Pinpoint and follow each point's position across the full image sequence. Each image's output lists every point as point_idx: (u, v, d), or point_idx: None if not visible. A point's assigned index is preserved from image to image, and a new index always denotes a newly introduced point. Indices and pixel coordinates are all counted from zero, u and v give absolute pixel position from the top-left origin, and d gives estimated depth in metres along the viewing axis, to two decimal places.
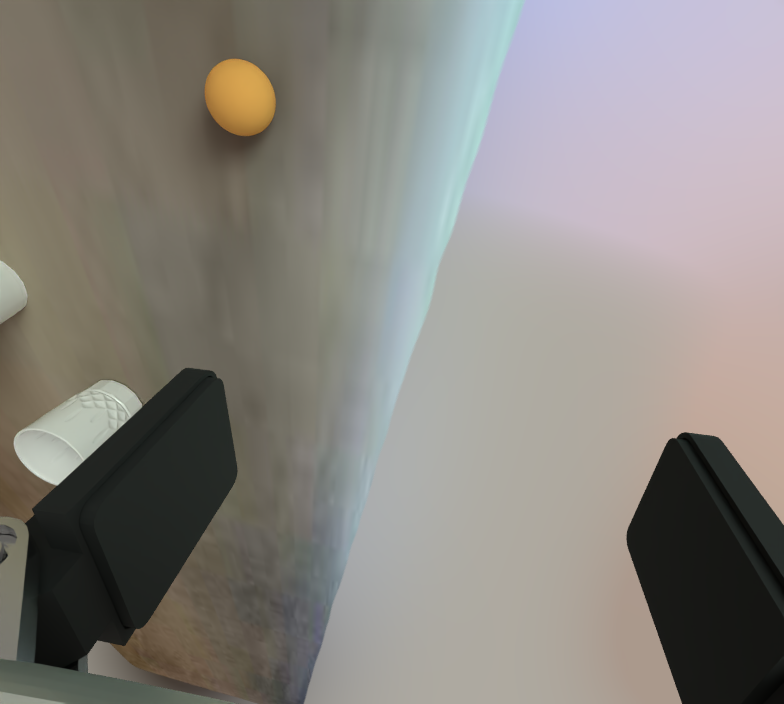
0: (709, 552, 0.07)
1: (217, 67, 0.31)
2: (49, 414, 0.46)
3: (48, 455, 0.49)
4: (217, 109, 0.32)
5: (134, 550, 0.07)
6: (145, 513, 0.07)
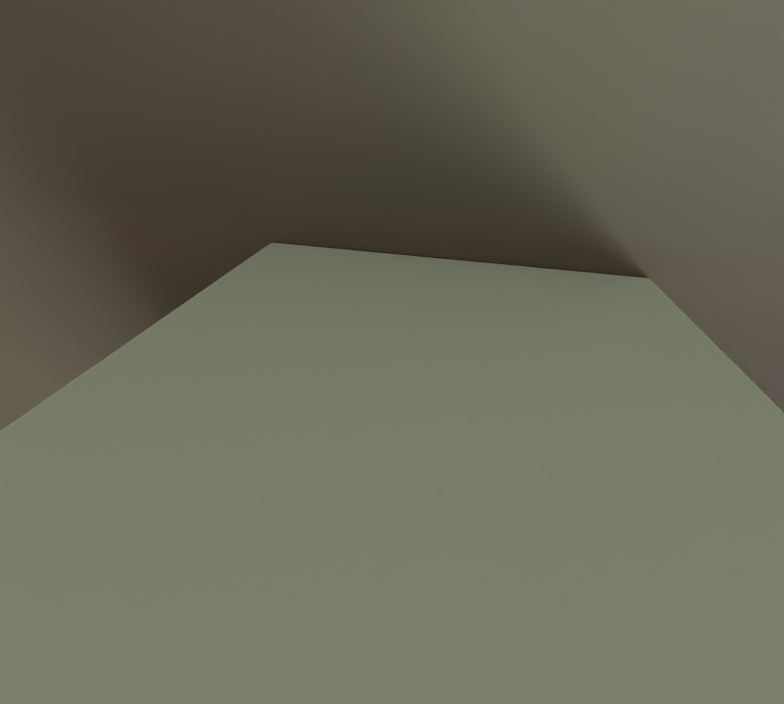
0: None
1: None
2: None
3: None
4: None
5: None
6: None
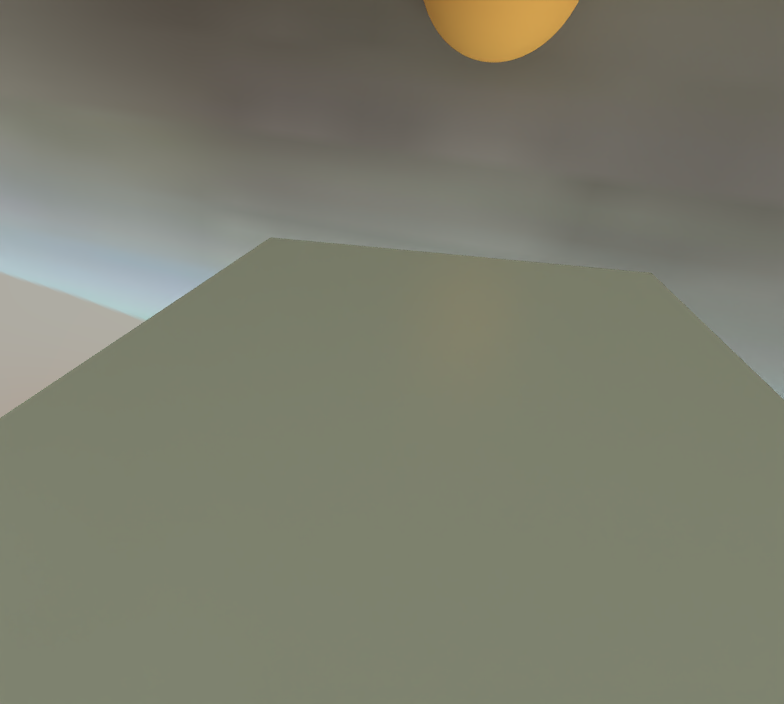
0: None
1: None
2: None
3: None
4: None
5: None
6: None
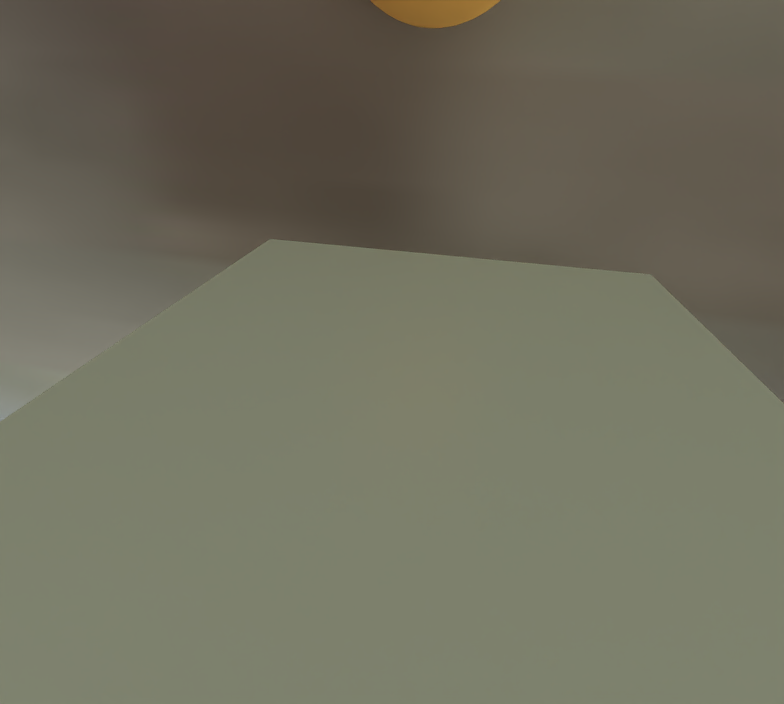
0: None
1: None
2: None
3: None
4: (407, 22, 0.11)
5: None
6: None
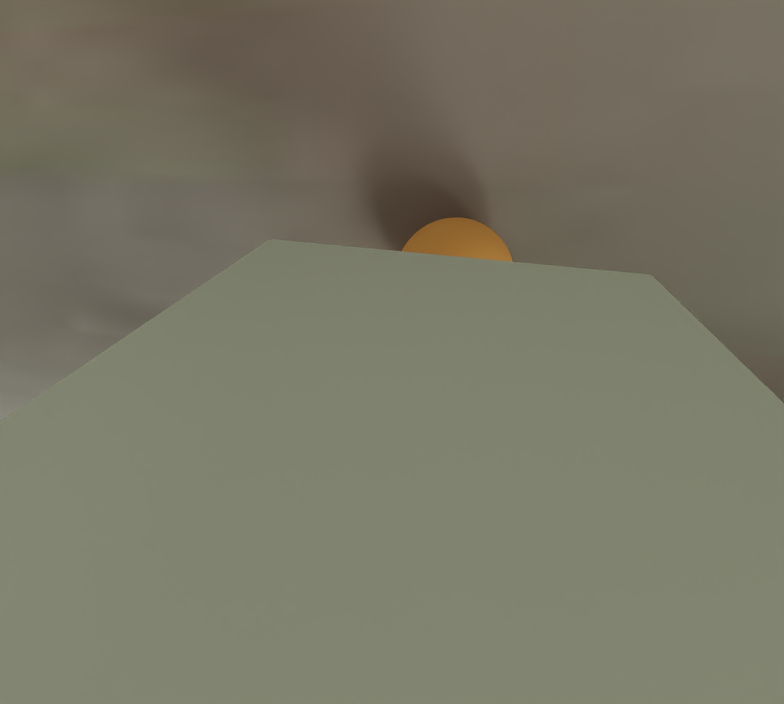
0: None
1: None
2: None
3: None
4: None
5: None
6: None
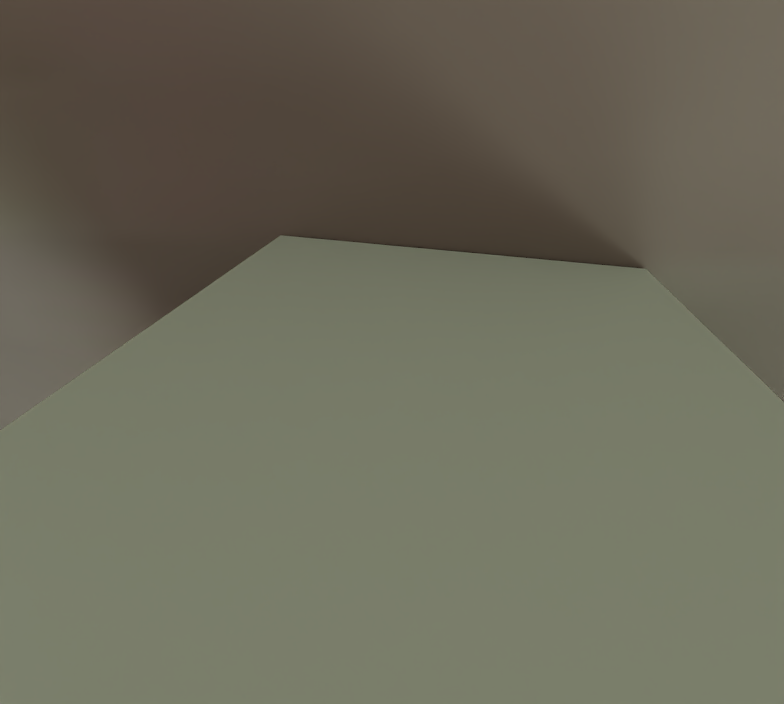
0: None
1: None
2: None
3: None
4: None
5: None
6: None
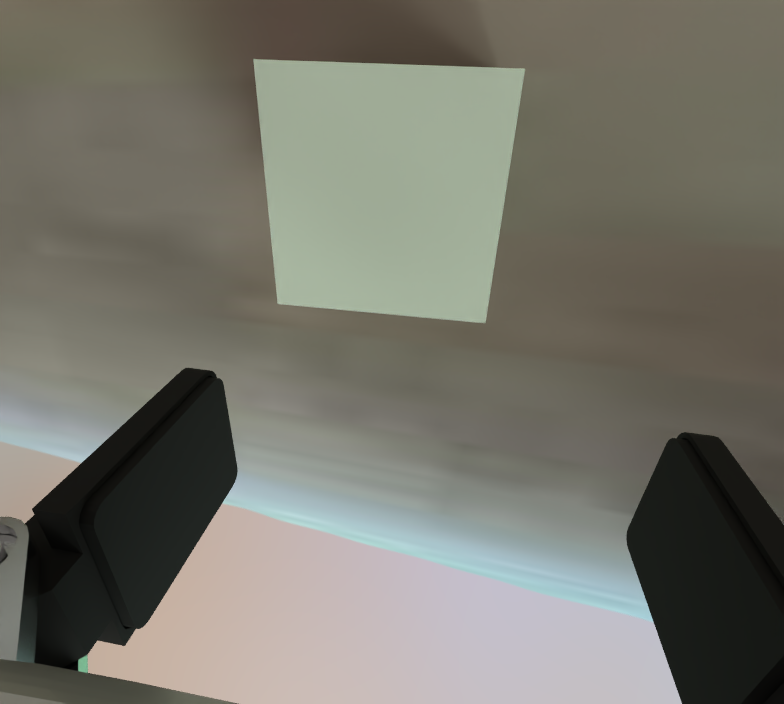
0: (709, 552, 0.07)
1: None
2: None
3: None
4: None
5: (134, 550, 0.07)
6: (145, 513, 0.07)
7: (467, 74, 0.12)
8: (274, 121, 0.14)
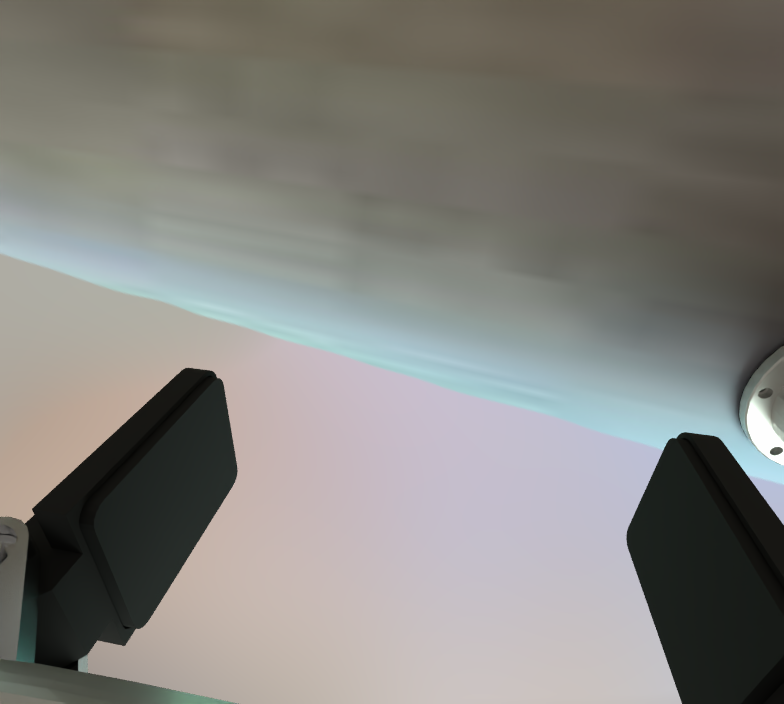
0: (709, 552, 0.07)
1: None
2: None
3: None
4: None
5: (134, 550, 0.07)
6: (145, 513, 0.07)
7: None
8: None
